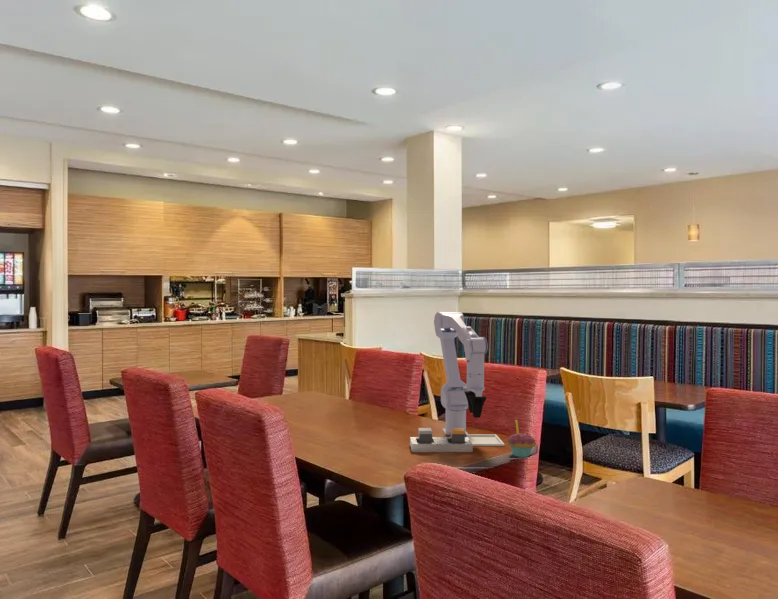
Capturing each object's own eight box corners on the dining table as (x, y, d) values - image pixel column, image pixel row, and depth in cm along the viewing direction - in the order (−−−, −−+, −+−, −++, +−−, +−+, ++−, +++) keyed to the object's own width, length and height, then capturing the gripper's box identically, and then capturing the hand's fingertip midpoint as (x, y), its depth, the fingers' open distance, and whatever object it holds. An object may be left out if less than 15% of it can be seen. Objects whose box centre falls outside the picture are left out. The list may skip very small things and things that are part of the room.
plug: (450, 446, 197) (450, 428, 197) (462, 446, 197) (463, 428, 197) (451, 450, 193) (452, 430, 193) (464, 450, 193) (465, 430, 193)
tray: (466, 437, 211) (466, 434, 211) (496, 437, 212) (496, 434, 212) (472, 447, 198) (472, 444, 198) (504, 447, 198) (504, 444, 198)
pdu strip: (409, 446, 199) (410, 437, 199) (467, 446, 200) (468, 437, 200) (411, 453, 190) (411, 444, 190) (472, 453, 191) (472, 444, 191)
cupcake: (514, 461, 183) (515, 421, 183) (502, 453, 191) (502, 415, 191) (540, 459, 185) (541, 419, 185) (526, 452, 193) (527, 414, 193)
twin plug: (418, 446, 197) (418, 427, 197) (430, 446, 197) (430, 427, 197) (419, 449, 193) (419, 430, 193) (432, 450, 193) (432, 430, 193)
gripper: (460, 370, 209) (459, 410, 209) (466, 376, 194) (466, 419, 194) (480, 371, 209) (480, 410, 209) (488, 377, 194) (488, 419, 195)
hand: (474, 414), depth 202 cm, fingers open, 7 cm apart
